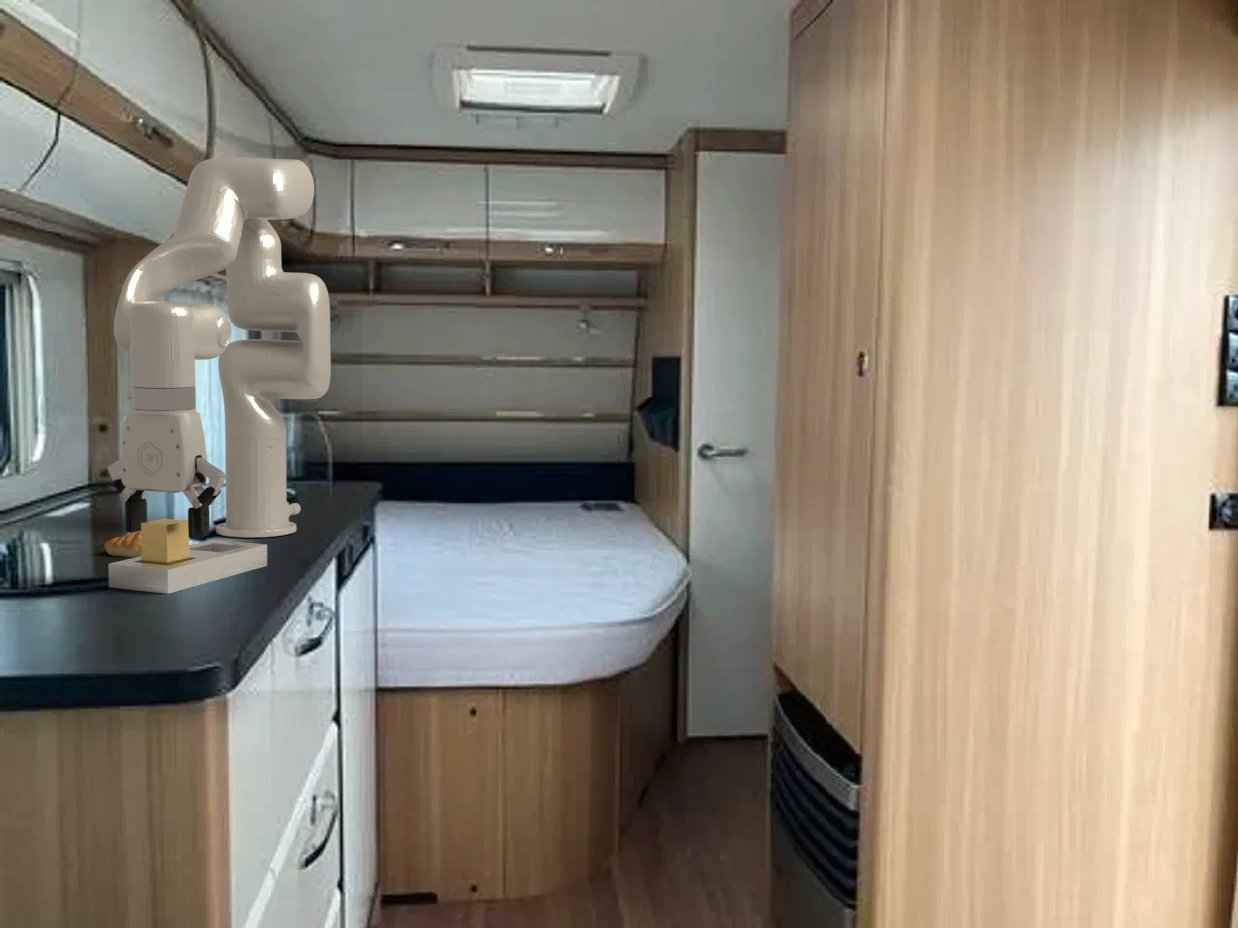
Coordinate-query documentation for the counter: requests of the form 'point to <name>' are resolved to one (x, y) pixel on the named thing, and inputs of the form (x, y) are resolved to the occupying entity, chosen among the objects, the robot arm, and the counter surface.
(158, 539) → the wooden block
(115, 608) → the counter surface
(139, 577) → the board with square holes
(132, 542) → the pastry
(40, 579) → the counter surface
